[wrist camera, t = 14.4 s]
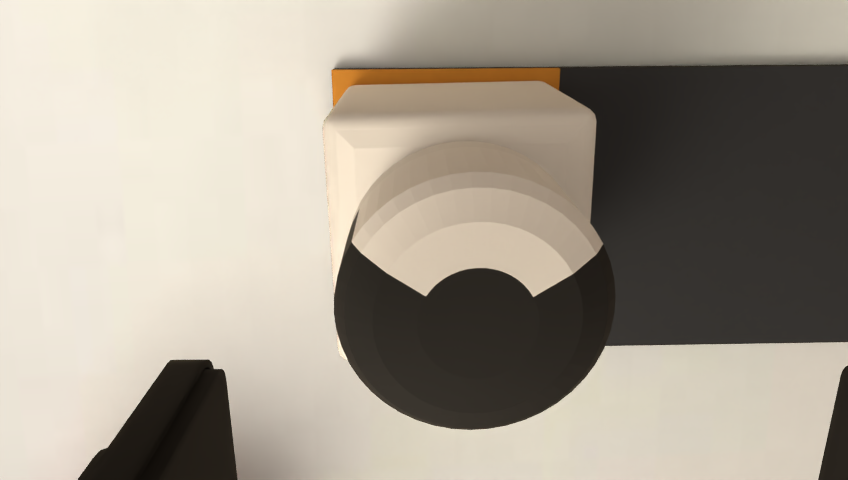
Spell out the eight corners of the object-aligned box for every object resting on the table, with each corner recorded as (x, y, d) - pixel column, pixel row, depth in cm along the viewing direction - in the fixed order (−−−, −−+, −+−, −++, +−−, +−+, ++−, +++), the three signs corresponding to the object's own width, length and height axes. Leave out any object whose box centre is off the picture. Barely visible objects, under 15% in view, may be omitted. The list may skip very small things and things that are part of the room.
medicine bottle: (540, 268, 27) (638, 465, 15) (355, 273, 26) (315, 475, 15) (547, 79, 24) (669, 147, 13) (344, 84, 24) (288, 156, 13)
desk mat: (916, 63, 25) (925, 65, 24) (855, 337, 28) (863, 343, 28) (333, 68, 24) (331, 70, 24) (346, 345, 28) (345, 351, 28)
